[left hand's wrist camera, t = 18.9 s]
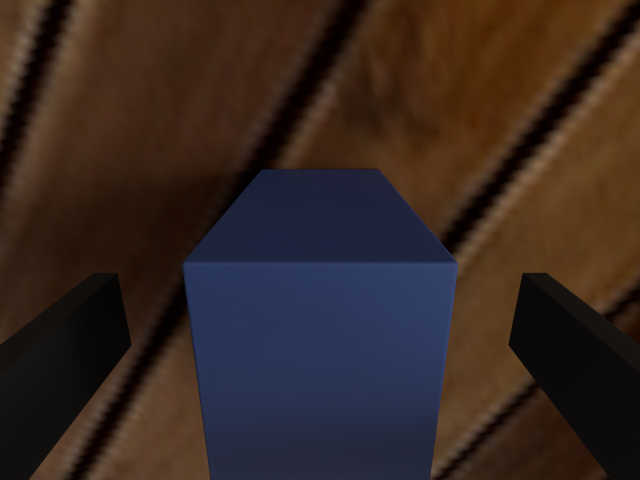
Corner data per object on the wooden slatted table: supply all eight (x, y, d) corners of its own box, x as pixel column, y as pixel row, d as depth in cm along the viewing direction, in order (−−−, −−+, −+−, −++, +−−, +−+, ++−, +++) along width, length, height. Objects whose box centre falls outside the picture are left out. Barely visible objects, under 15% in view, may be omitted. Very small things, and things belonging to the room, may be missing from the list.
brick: (379, 169, 15) (460, 262, 6) (370, 340, 18) (418, 571, 9) (261, 169, 15) (180, 262, 6) (269, 340, 18) (221, 570, 9)
